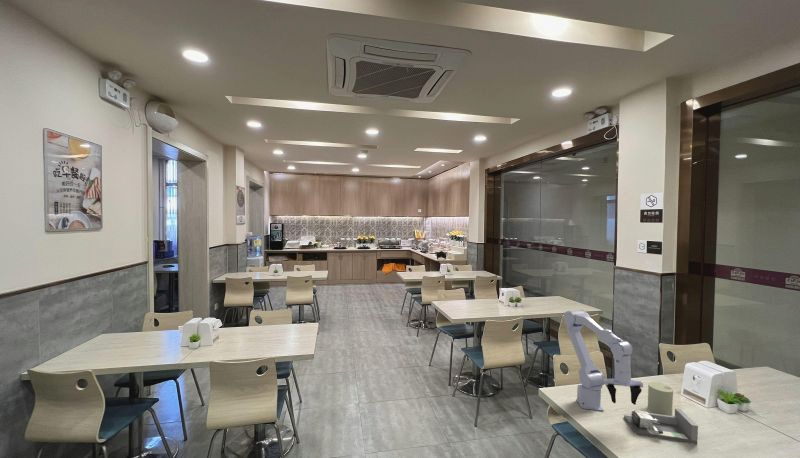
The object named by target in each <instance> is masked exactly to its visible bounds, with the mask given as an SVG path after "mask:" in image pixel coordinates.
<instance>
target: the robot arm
mask: <svg viewBox="0 0 800 458" xmlns="http://www.w3.org/2000/svg"><path fill="white" fill-rule="evenodd" d="M562 318H563V321H564V324H565V327H566V330H567V331H566V332H567V334H568V336H569V339H570V342H571V344H572V346H573V348H574V353H575V354H576V357H577V360H578V362H579V364H580V368H579V370H578V376H579V381H580V383H581V384H577V387H576V388H577V391H576V392H577V393H576V394H577V395H576V401H577V403H578V405H579V406H580V408H581V409H584V410H585V409H586V410H594V411H601V412H603V411H605V409H604V408H603V406H602V405H601V400H602V398H601V397H602V389H603V386H604V385H605V386H606V388H607V390H608V392H609V396H610V399H611V402H612V403H613V404H616V401H617V400H616V395H617V388H616V387H615V386H623V387H629V389H630V401H631V404H632V405H637V400H638V397H639V396H640V394H641V392H642V388H644V383H643V382H642V381H640V380H634V379H632V376H631V375H632V374H631V373H632V371H631V368H632V367H631V355H632V354H633V353H634V347H633V345H632V344H631V343H630V341H627V340H623V339H621V338H620V337H618V336H617V335H616V334H614V333H613V330H611V329H604V328H603V327H601V325H599V324H598V323H597V321H595V320H594V319H593V318H592V317H591V316H590V314H589V313H587V311H586V310H584V309H580V310H579V309H578V310H568V311H565V312H564V314H563V317H562ZM584 326H586V327H587V328H588V329H590V330H591V331H593V333H595V334H597V336H598V339H599V340H600V342H602V343H603V344H605V345H606V346H607V347H608V348H609V349H610V352H611V353H612V357H613V359H614V378H606V377H605V375H604V374H603V373H602V372H601V369H600V368H599V366H596V365H595V364H594V363H593V360H592V357H591V355H590V353H589V350H588V348H587V345H586V343H585V340H584V339H583V336H582V332H581V329H582V328H583V327H584Z"/></svg>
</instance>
